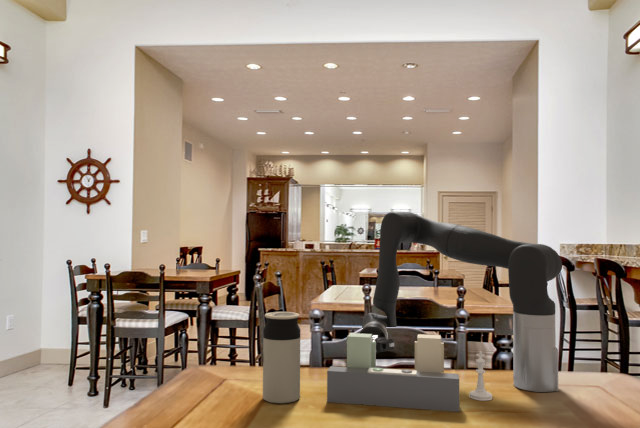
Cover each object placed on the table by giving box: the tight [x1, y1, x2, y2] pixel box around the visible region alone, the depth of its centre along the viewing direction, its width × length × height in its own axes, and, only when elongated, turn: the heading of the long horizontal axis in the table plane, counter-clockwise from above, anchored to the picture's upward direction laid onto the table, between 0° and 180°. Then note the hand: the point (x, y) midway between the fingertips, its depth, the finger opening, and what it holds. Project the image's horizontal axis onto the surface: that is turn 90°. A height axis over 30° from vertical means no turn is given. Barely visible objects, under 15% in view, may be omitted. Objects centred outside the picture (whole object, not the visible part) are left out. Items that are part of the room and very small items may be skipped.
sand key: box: [414, 333, 445, 373], centre depth 117 cm, size 6×5×11 cm
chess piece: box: [468, 350, 493, 402], centre depth 116 cm, size 5×5×10 cm
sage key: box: [346, 332, 377, 368], centre depth 118 cm, size 6×5×11 cm
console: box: [326, 365, 460, 413], centre depth 115 cm, size 27×12×7 cm, turn 78°
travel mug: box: [262, 311, 301, 405], centre depth 114 cm, size 8×8×18 cm
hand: (366, 350), depth 129 cm, fingers closed
